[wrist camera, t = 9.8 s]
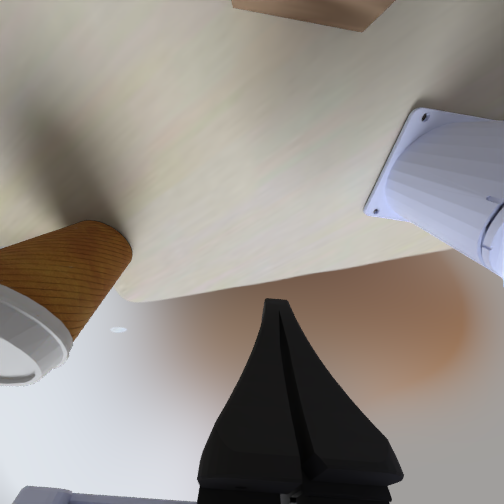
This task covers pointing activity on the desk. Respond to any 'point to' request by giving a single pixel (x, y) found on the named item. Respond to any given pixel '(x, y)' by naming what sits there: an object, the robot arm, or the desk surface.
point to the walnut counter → (321, 11)
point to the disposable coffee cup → (53, 295)
